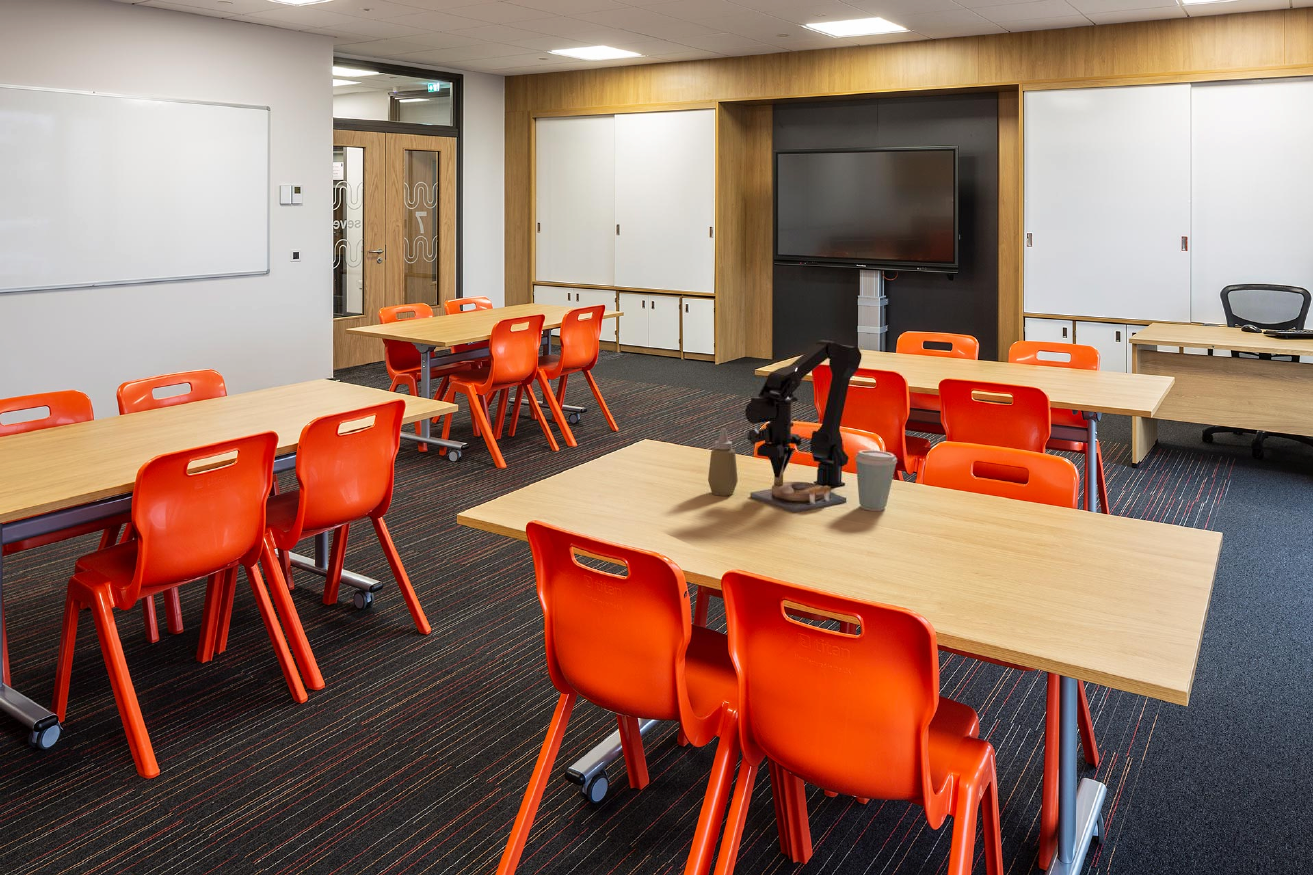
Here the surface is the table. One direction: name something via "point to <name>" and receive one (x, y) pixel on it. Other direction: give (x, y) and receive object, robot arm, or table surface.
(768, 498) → the level stand
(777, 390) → the robot arm
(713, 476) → the squeeze bottle
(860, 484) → the disposable coffee cup
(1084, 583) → the table surface
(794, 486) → the cam dial
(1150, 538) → the table surface
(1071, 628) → the table surface
